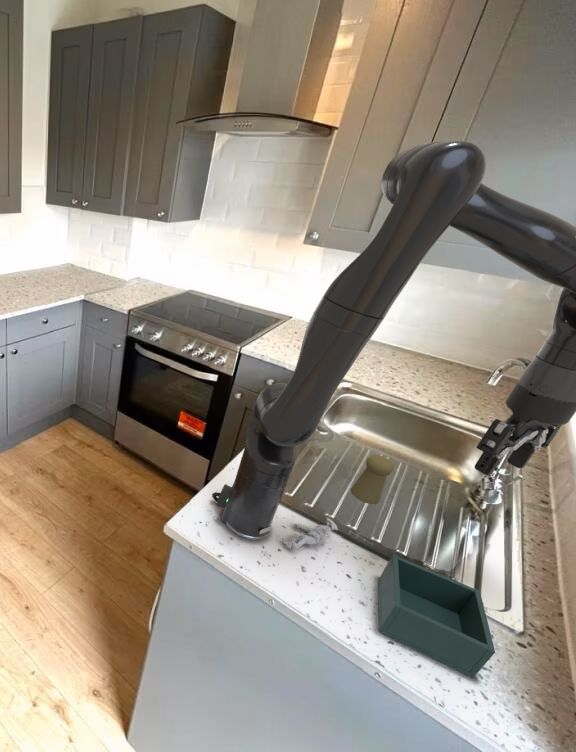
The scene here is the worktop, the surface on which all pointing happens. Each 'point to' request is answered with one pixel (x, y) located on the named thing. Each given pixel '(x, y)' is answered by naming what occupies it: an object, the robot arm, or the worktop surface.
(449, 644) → the tote
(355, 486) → the cork
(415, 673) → the worktop surface
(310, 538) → the soldier figure
